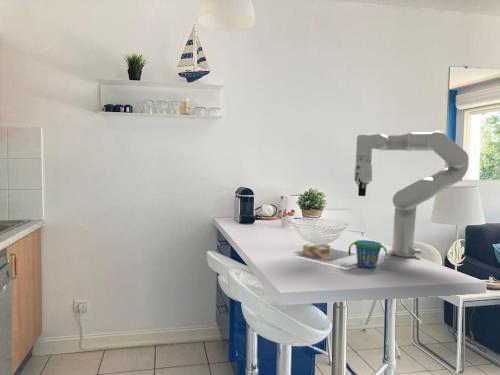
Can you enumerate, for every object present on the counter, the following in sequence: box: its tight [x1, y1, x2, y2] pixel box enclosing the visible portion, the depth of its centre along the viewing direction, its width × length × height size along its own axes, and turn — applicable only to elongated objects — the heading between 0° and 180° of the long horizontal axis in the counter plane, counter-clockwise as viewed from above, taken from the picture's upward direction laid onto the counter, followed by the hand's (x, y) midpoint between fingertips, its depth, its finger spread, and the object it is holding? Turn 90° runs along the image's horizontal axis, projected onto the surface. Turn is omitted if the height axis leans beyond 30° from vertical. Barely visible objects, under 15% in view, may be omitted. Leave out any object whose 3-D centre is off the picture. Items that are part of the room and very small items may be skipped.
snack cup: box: [347, 239, 388, 269], centre depth 169 cm, size 16×10×10 cm
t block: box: [302, 243, 331, 259], centre depth 184 cm, size 11×10×4 cm
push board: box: [292, 248, 357, 262], centre depth 187 cm, size 20×23×1 cm
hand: (361, 195), depth 203 cm, fingers closed
